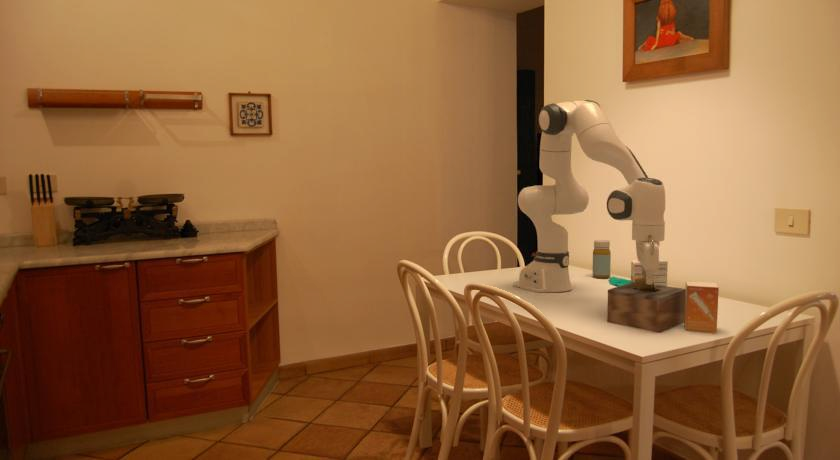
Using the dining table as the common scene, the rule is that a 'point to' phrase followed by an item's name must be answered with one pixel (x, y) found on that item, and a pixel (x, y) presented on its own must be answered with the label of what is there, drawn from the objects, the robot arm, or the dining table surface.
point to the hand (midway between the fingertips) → (646, 280)
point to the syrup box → (635, 269)
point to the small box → (701, 306)
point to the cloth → (618, 281)
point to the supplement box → (661, 273)
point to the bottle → (601, 259)
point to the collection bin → (646, 307)
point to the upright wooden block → (644, 284)
